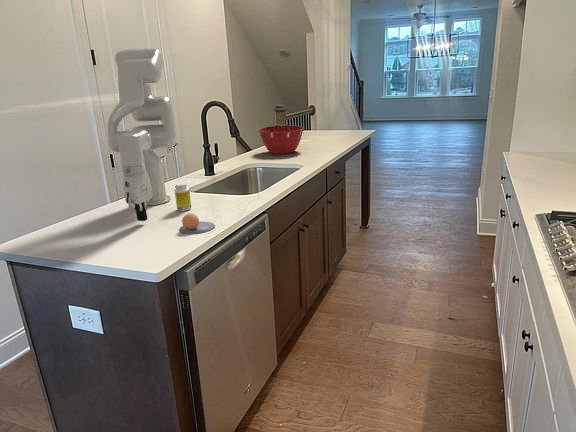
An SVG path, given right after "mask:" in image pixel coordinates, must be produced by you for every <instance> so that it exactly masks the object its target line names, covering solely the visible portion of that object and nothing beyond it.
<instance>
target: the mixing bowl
mask: <svg viewBox="0 0 576 432" xmlns="http://www.w3.org/2000/svg"><path fill="white" fill-rule="evenodd" d="M258 132H259V135H260V138H261V140H262V142H263V145H264V147H265V148H266V151H268V152H269V153H271V154H273V155H288V154H292V153H294V151H296V150H297V148H298V147H299V145H300V142H301V140H302V136H303V132H304V126H301V125H292V124H291V125H271V126H265V127H261V128H260V127H259V129H258Z"/></svg>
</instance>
